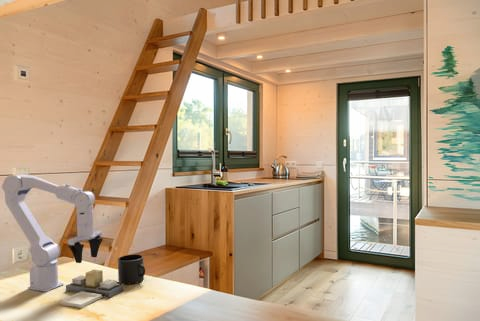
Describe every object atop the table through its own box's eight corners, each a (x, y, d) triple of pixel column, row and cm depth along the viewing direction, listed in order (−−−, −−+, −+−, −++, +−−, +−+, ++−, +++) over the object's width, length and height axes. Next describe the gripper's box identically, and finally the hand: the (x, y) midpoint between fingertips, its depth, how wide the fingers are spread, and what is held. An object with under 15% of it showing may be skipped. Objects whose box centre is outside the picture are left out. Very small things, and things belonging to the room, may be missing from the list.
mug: (136, 287, 134) (135, 263, 134) (113, 282, 140) (112, 259, 140) (153, 279, 143) (153, 256, 142) (131, 275, 148) (130, 253, 148)
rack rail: (65, 290, 132) (65, 280, 132) (81, 284, 139) (81, 273, 139) (109, 297, 125) (109, 286, 125) (123, 290, 132) (123, 279, 131)
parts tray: (60, 304, 120) (60, 301, 120) (81, 294, 128) (81, 291, 128) (81, 308, 117) (81, 304, 117) (101, 297, 125) (101, 294, 125)
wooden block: (86, 292, 131) (85, 272, 131) (94, 288, 135) (93, 269, 134) (94, 293, 129) (94, 273, 129) (103, 289, 133) (102, 270, 133)
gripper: (78, 227, 128) (79, 266, 129) (107, 220, 142) (108, 255, 142) (63, 227, 131) (64, 264, 131) (93, 219, 144) (94, 254, 145)
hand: (86, 259), depth 137 cm, fingers open, 7 cm apart
